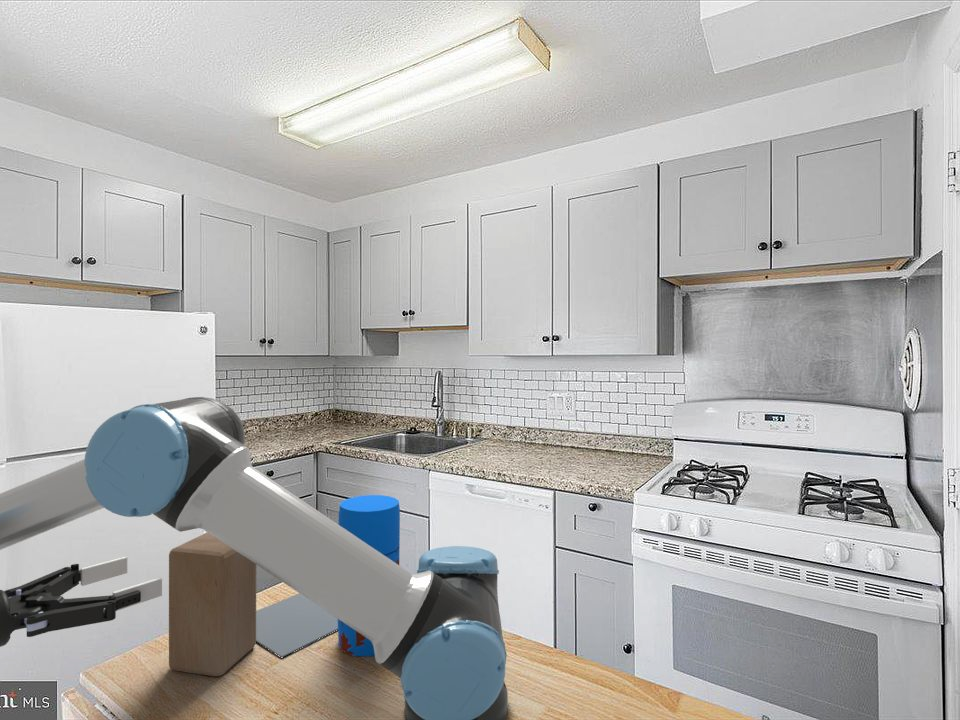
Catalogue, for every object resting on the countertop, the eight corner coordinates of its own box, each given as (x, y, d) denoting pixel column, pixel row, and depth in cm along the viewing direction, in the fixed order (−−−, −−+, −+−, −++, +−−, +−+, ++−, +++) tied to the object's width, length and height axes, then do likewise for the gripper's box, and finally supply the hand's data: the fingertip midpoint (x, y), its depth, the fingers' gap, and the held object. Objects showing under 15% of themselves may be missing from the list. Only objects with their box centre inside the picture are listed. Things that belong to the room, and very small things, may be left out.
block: (220, 680, 85) (220, 554, 84) (165, 671, 87) (165, 549, 86) (258, 646, 94) (259, 533, 94) (208, 639, 96) (209, 529, 96)
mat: (376, 611, 107) (376, 609, 107) (281, 658, 91) (281, 656, 91) (320, 586, 118) (320, 584, 118) (227, 624, 102) (227, 622, 102)
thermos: (381, 619, 104) (382, 491, 104) (410, 643, 96) (411, 504, 96) (327, 637, 98) (328, 501, 97) (353, 664, 89) (355, 515, 89)
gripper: (-52, 625, 79) (113, 577, 96) (-10, 692, 64) (177, 621, 81) (-52, 574, 79) (113, 535, 96) (-10, 630, 64) (177, 572, 81)
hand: (143, 575), depth 88 cm, fingers open, 13 cm apart
